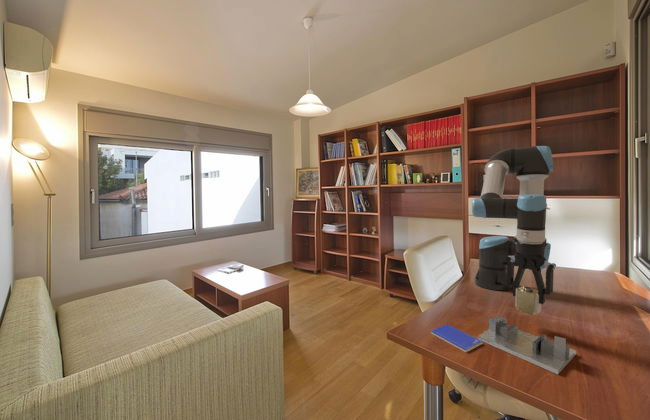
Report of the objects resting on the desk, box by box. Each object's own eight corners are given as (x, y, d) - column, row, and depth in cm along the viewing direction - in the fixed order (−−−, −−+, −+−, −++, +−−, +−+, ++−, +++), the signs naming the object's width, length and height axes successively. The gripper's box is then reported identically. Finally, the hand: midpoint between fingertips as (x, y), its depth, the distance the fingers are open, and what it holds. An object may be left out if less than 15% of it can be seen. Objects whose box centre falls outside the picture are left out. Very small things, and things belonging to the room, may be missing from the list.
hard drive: (482, 340, 84) (447, 323, 95) (465, 349, 80) (431, 330, 91) (482, 345, 84) (447, 328, 95) (465, 354, 80) (431, 334, 91)
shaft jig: (477, 339, 87) (477, 323, 86) (498, 325, 95) (499, 311, 94) (559, 375, 70) (560, 355, 69) (577, 355, 78) (577, 337, 77)
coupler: (515, 309, 93) (516, 288, 93) (522, 305, 96) (523, 284, 95) (533, 315, 89) (534, 292, 88) (539, 310, 92) (540, 288, 91)
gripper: (495, 239, 95) (494, 302, 98) (560, 248, 80) (557, 323, 83) (505, 235, 100) (503, 296, 102) (569, 244, 85) (565, 315, 87)
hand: (527, 308), depth 93 cm, fingers closed on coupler, 5 cm apart
